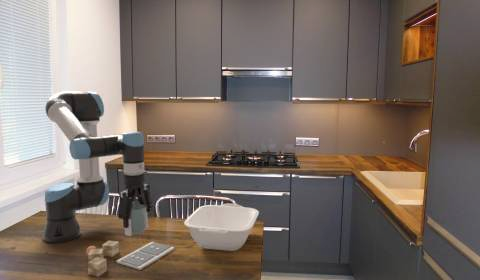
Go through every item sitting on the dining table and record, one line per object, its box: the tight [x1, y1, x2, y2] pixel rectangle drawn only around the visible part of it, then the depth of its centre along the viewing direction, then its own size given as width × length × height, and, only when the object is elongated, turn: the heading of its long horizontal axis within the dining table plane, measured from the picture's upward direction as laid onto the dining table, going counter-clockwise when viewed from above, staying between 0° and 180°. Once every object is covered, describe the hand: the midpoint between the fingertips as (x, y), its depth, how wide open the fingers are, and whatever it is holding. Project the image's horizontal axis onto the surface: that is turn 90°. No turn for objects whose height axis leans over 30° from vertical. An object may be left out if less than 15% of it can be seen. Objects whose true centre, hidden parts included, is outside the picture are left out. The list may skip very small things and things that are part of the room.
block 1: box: [87, 248, 104, 262], centre depth 137 cm, size 4×4×4 cm
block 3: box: [101, 240, 120, 258], centre depth 144 cm, size 4×4×4 cm
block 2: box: [87, 257, 108, 277], centre depth 129 cm, size 4×4×4 cm
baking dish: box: [183, 203, 260, 252], centre depth 154 cm, size 34×28×13 cm
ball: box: [86, 245, 98, 256], centre depth 142 cm, size 4×4×4 cm
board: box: [116, 241, 175, 271], centre depth 143 cm, size 12×20×1 cm, turn 152°
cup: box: [129, 203, 148, 235], centre depth 136 cm, size 8×8×10 cm
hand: (136, 231), depth 137 cm, fingers closed on cup, 8 cm apart
